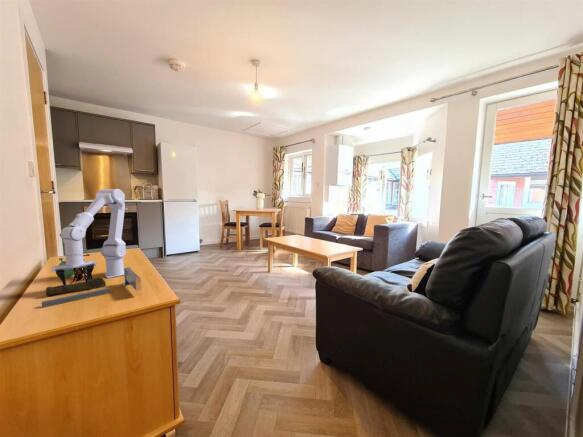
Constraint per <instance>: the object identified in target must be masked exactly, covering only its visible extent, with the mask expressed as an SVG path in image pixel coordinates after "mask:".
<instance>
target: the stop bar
mask: <svg viewBox="0 0 583 437" xmlns="http://www.w3.org/2000/svg"><path fill="white" fill-rule="evenodd" d="M110 293H111V288H110V287H106V288H99V289H95V290H92V291H91V290H90V291H86V292H81V293H77V294H71V295H66V296H63V297H56V298H51V299H49V300H43V301H41V308H47V307H51V306H55V305H60V304H61V305H62V304H64V303H69V302H73V301H79V300H84V299H89V298H92V297H97V296H102V295H107V294H110Z"/></svg>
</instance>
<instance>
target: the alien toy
mask: <svg viewBox="0 0 583 437" xmlns="http://www.w3.org/2000/svg"><path fill="white" fill-rule="evenodd" d="M58 260H59V261H61V262H60V263H59V264H58V265H57V266H59V265H64V264H66V260H63V257H60V258H58ZM64 273H65V279H67V278H71V277H73V276H74V275H75V274H74V272H73V269H68V270H64Z"/></svg>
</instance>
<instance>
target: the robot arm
mask: <svg viewBox="0 0 583 437" xmlns="http://www.w3.org/2000/svg"><path fill="white" fill-rule="evenodd" d="M125 197H126V194H125V193H124V192H123V191H122V190H121V189H119V188H115V189H114V188H112V189H111V188H109V189H107V188H106V189H105V188H101V189H99V190H98V192H96V193H95V197H94V199H93V200H92V202H91V203H90V205H89V206H88V207H87V208H86V210H85V211H84V212H83V211H82V212H80V213H77V214H76V215H75V218H74V219H73V220H72V221H71V222H70V223H69V224H68V226H65V227H63V228H62V229H61V231H60V233H59V237H60V238H61V240H62V242H63V244H64V254H65V261H66V264H64V265H59V264H58V265H59V266H58V265H54V266H53V265H52V266H51V272H52V273H55V275H57V277H58V278H59V280H60V281H61V282H62V285H67V283H66V278H65V273H64V270H68V269H74V268H76V269H79V268H80V269H81V268H86V281H87V280H89V279H91V275H92V273H93V271H94V269H95V267H97V266H98V262H97V260H89V261H84V260H85V259H84V250H83V247H84V246H83V239H84V238H85V237H86V232H87V229H88V228H89V226H90V225H91V224H92V223H93V221H94V220H95V218H94V216H95V215H96V214H97V213H98V212H99V211H100V210H101V209H102V208H103V207H104V205H107V206H109V208H111V210H110V211H111V212H110V219H109V220H110V221H109V228H108V238H107V239H106V240H105V241H104V242H103V244H102V246H101V250H100V254H101V256H102V257H103V258H104V259H105V271H106V272H104V275H105V277H106V279H110V278H115V277H120V276H124V268H125V267H124V258H125V256H126V254H127V247H126V242H125V241H124V240H123V239H122V237H123V229H124V228H123V227H124V220H125V219H124V218H125V211H126V205H125Z"/></svg>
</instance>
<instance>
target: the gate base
mask: <svg viewBox="0 0 583 437" xmlns="http://www.w3.org/2000/svg"><path fill="white" fill-rule="evenodd" d="M127 286H132V285H131V284H125V282H122V287H127Z"/></svg>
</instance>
